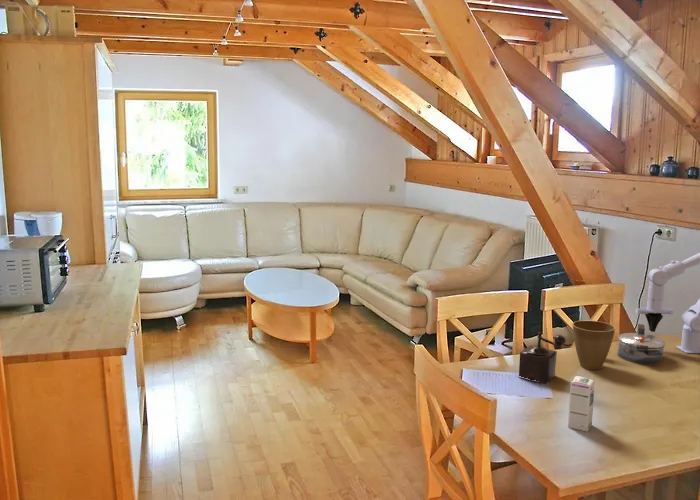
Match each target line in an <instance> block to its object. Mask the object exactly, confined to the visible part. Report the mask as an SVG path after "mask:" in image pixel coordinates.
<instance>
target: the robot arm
mask: <svg viewBox="0 0 700 500" xmlns="http://www.w3.org/2000/svg"><path fill="white" fill-rule="evenodd" d="M698 265H700V252H698V253H696V254H694V255H692V256H690V257H688V258H685V259H684V260H682V261H681V260H670V262H669V263H668V264H666V265H661V266H658V267H659V268H653V269H651V270H650V271H649V272H648V274H647V279H648V284H649V285H648V290H647V291H648V292H647V300H646V301H647V303H646V307H640V308H635V310H634V311H635V314H637V315H640V314H641V315H644V316H645V318H646V320H647V325H648V331H650V332H652V333H655V332H656V329H657V327H658V325H659V323H660V322H661V320H662V319H663V317H664V316H663V315H673V313H674V309H672V308H665V307H664V308H663V305H664V295H665V286H666V284H667V283H668V281H669V280H672V279H674V278H676V277H679V276H681V275H683V274H685V272H686V270H687V269H689V268H693V267H695V266H698ZM681 321H682V323H683V326H682V334H681V343H680V345H676V346H675V347H676V348H677V349H678V350H681V351H682V352H684V353H685V354H700V297H699V298H698V300H697V302H696V303H695V304H693V305H691V306H690V307H689V308H688V309H687V310H685V311H684V312H683V313H682V315H681Z"/></svg>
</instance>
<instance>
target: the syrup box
mask: <svg viewBox="0 0 700 500" xmlns="http://www.w3.org/2000/svg"><path fill="white" fill-rule="evenodd" d="M595 382H596V380H595V379H594V378H589V377H586V376H579V375H578V376H577V375H576V376H575V377H574V378H572V380H571V381H570V391H569V404H568V407H569V408H568V419H567V420H568V423H567V424H568V425H567V427H568V428H569V429H570V428H571V429H575V430H579V431H582V432H585V433H586V432H588V431H589V430H590V428H591V426H592V425H593V424H592V423H593V415H594V414H593V411H594V398H595V397H594V396H595V394H594V393H595Z"/></svg>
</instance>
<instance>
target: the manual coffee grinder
mask: <svg viewBox="0 0 700 500" xmlns="http://www.w3.org/2000/svg"><path fill="white" fill-rule="evenodd" d="M542 335H543V333H542V332H541V331H539V332H538V333H537V345H535V346H534V345H529V346H527V347H526V348H524V349H523V350H521V351H520V352H519V363H518V364H519V367H518V377H519V376H521V377H524V378H528V379H530V380H536V381H539V382H538V383H541V382H543V383H542V384H547V382H548V383H549V382H551V381H552V380H553V379H554V377H555V376H556V367H557V365H556V364H557V355H558V352H557V351H555V350H562V347H563V345H564V344H565V343H566V338H565V336H563V335H562V334H557V335H555V336H554V341H551V340H549V339H546V338H544V337H543V336H542ZM541 341H543V342H545V343H548V344H550V345H552V346H553V348H555V350H553V349H548V348H546V347H544V346H542V345H541ZM530 380H529V381H530ZM536 381H535V382H536Z"/></svg>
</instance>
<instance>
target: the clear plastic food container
mask: <svg viewBox="0 0 700 500" xmlns="http://www.w3.org/2000/svg"><path fill="white" fill-rule="evenodd" d="M664 348H665V346H664V347H662V348H657V349H648V350H640V349H636V347H633V346H629V345H626V344H624V343H622V342H620V341H619V340H618V349H617V355H618V357H619V358H621V359H622V360H624V361H628V362H630V363H635V364H641V365H657V364H660V363H662V362H663V360H664V359H663V358H664Z"/></svg>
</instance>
